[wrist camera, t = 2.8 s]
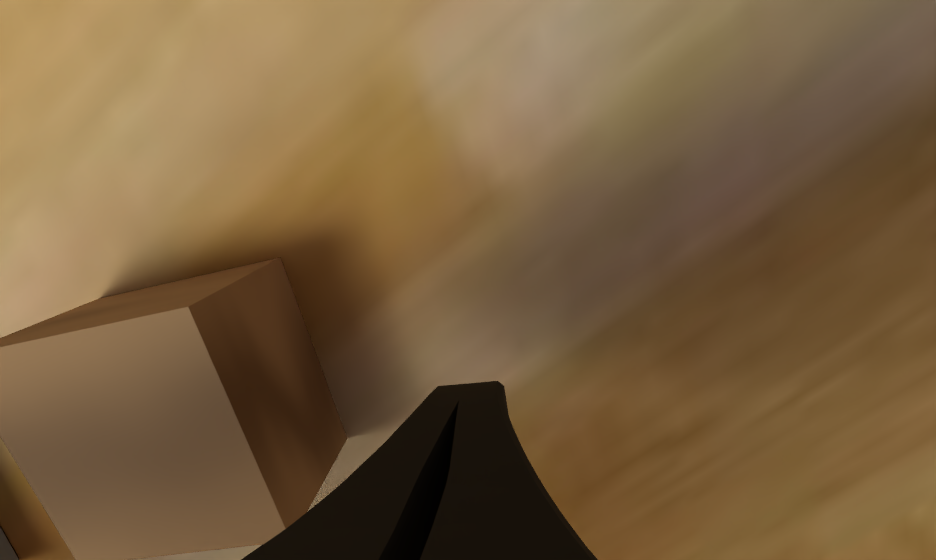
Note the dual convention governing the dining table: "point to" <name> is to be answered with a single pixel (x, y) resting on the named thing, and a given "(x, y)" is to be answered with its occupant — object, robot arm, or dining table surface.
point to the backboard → (6, 548)
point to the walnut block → (172, 415)
